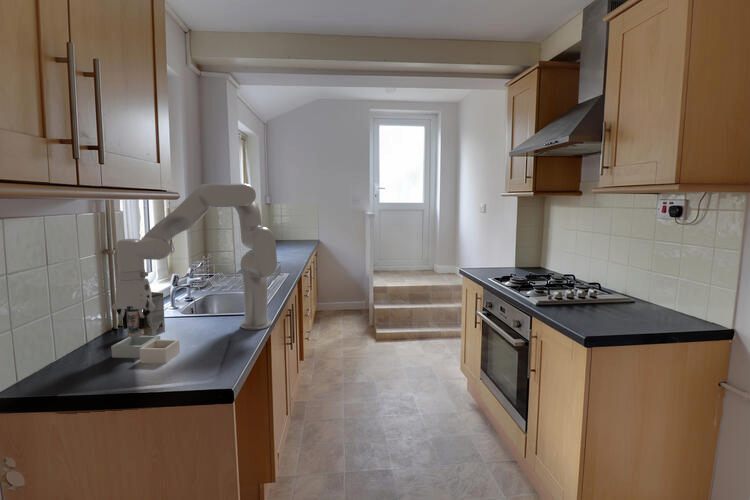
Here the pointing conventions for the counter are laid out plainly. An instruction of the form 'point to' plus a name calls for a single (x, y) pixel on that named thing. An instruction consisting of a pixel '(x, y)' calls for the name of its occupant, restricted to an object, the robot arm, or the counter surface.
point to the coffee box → (156, 316)
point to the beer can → (133, 322)
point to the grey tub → (131, 346)
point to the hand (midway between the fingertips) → (135, 327)
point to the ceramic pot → (159, 351)
